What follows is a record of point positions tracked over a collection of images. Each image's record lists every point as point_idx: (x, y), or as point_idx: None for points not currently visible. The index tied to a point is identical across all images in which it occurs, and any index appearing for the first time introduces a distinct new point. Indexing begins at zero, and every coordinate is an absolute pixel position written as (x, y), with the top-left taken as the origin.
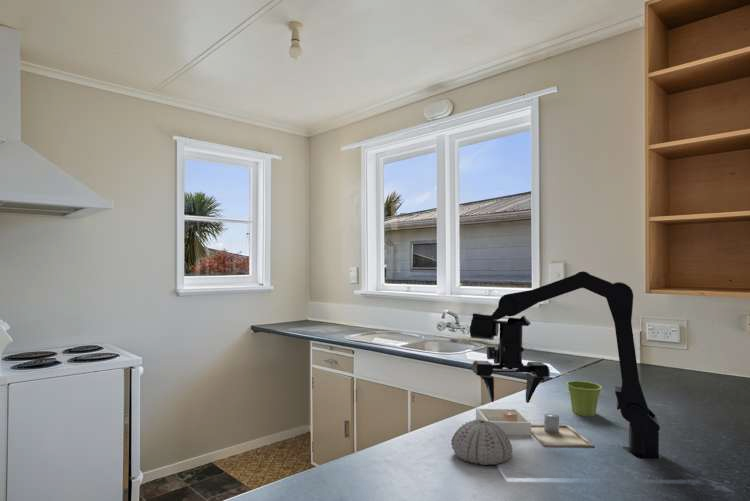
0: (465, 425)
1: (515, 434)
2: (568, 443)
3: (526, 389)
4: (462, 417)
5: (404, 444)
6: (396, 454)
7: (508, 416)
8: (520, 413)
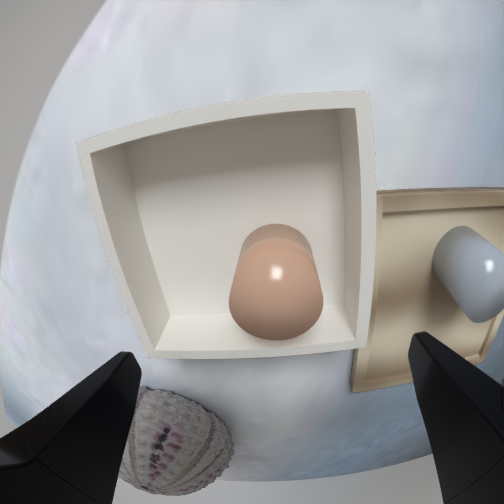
0: None
1: None
2: None
3: (462, 402)
4: (66, 93)
5: (19, 355)
6: (34, 388)
7: (256, 332)
8: (370, 201)
